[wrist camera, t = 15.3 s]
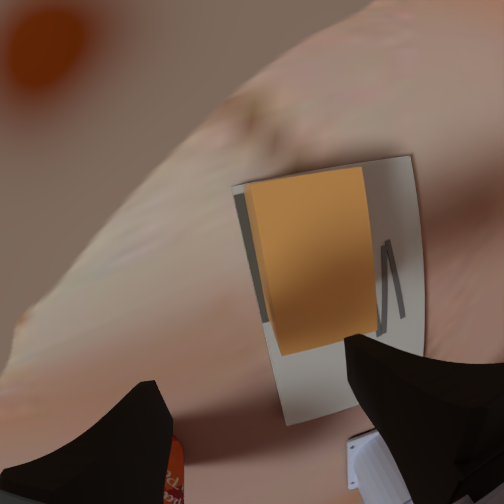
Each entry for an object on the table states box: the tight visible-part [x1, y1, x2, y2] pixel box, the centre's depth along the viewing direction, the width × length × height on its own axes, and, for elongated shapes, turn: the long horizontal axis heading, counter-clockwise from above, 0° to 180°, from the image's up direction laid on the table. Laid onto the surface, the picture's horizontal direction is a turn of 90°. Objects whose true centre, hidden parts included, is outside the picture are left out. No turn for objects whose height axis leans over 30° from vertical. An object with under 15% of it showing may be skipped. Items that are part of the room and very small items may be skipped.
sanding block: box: [243, 167, 377, 356], centre depth 16 cm, size 8×5×5 cm, turn 11°
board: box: [231, 156, 425, 426], centre depth 20 cm, size 18×12×1 cm, turn 12°
